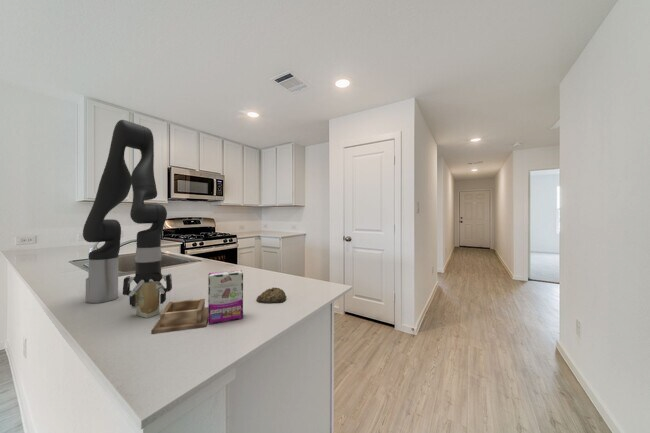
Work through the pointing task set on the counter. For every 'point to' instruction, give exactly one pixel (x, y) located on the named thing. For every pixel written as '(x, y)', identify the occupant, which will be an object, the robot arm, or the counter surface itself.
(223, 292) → the candy bar box
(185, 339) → the counter surface
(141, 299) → the skincare box
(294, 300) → the counter surface
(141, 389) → the counter surface
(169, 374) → the counter surface
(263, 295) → the bread roll
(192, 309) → the walnut stand
